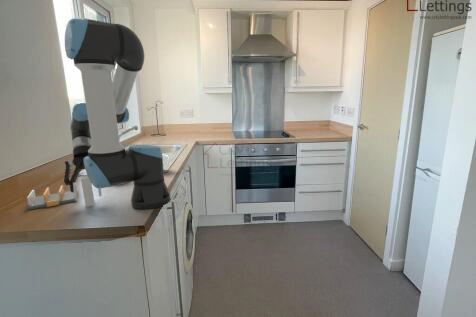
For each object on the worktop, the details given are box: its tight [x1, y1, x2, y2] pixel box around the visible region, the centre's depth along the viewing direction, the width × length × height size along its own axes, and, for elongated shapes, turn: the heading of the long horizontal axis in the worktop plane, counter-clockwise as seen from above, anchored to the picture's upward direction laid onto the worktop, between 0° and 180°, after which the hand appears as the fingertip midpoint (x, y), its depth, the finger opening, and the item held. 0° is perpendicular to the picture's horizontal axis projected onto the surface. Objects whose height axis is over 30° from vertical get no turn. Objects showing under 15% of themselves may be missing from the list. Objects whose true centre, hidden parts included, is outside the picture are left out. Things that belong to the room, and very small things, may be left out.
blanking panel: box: [80, 173, 95, 207], centre depth 104 cm, size 6×3×12 cm, turn 28°
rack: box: [26, 183, 79, 210], centre depth 109 cm, size 13×16×5 cm
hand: (88, 196), depth 101 cm, fingers open, 8 cm apart
